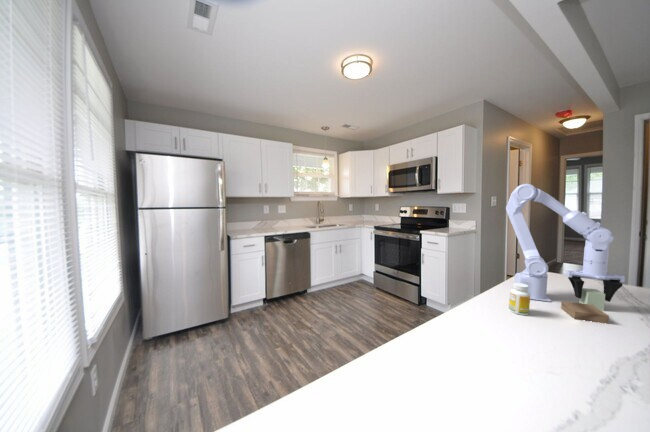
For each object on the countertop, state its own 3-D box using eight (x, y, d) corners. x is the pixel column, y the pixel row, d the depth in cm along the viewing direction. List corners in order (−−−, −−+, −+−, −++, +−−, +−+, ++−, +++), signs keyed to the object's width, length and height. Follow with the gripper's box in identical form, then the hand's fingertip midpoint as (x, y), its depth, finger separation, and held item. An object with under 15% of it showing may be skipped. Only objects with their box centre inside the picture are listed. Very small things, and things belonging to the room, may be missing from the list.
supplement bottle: (506, 311, 84) (508, 284, 83) (511, 306, 87) (512, 280, 86) (526, 317, 79) (528, 288, 78) (530, 312, 83) (532, 284, 82)
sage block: (586, 309, 85) (588, 292, 84) (579, 303, 89) (580, 287, 88) (603, 311, 83) (605, 294, 83) (595, 305, 87) (596, 289, 87)
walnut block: (574, 320, 78) (575, 311, 78) (560, 309, 86) (561, 301, 85) (608, 325, 75) (609, 315, 75) (591, 313, 83) (591, 304, 82)
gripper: (575, 262, 84) (571, 300, 85) (633, 266, 78) (629, 306, 80) (563, 257, 90) (561, 292, 91) (617, 260, 85) (613, 298, 86)
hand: (592, 298), depth 86 cm, fingers open, 7 cm apart
